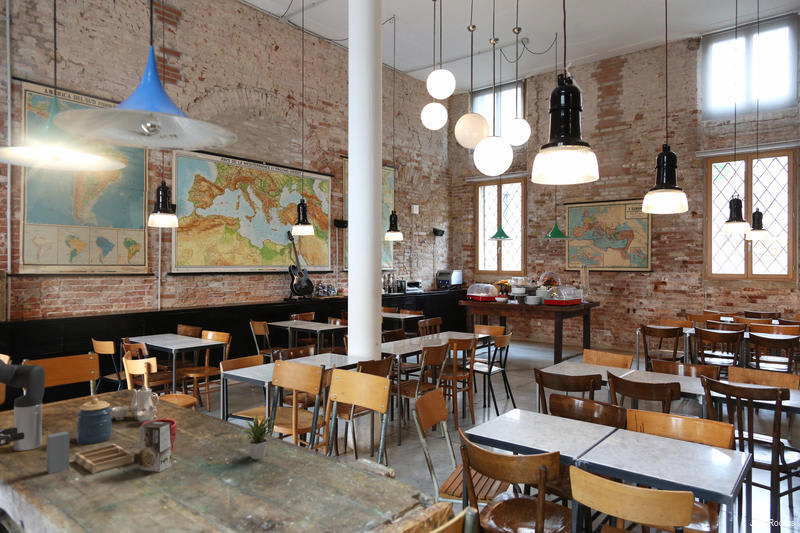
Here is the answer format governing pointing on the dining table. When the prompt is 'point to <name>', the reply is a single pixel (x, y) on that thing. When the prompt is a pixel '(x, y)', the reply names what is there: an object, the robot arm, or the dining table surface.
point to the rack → (104, 458)
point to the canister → (94, 422)
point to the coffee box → (155, 446)
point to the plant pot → (173, 432)
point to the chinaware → (139, 406)
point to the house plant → (258, 437)
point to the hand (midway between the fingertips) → (20, 432)
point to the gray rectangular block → (57, 452)
